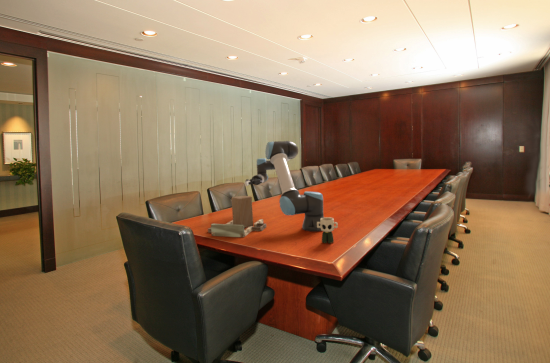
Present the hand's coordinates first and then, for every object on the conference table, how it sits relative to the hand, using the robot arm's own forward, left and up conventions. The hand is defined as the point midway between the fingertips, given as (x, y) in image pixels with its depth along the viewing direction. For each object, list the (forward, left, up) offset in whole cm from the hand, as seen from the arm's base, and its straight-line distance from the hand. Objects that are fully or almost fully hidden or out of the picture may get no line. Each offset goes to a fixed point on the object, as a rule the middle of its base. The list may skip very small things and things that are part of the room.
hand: (245, 183), depth 213 cm
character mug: (-67, -23, -28) cm, 76 cm away
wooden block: (-8, +6, -28) cm, 29 cm away
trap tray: (-14, +11, -27) cm, 32 cm away
